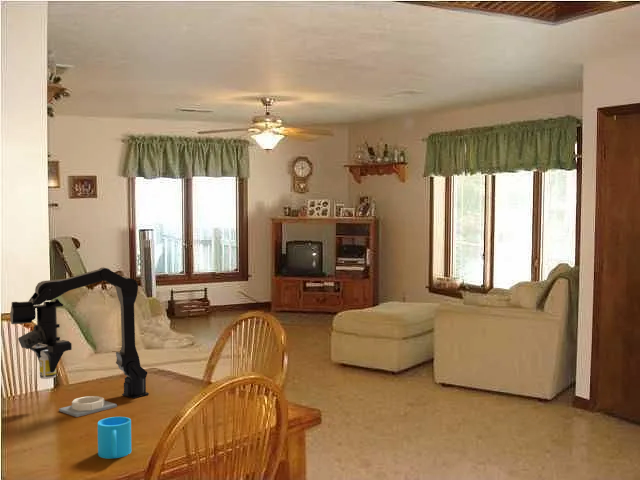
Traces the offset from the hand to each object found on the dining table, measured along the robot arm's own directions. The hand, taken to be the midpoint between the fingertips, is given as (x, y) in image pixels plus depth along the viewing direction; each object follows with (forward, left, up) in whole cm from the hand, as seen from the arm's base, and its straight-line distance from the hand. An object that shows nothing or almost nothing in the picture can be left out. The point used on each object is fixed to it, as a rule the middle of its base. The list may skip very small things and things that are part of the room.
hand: (47, 370), depth 215 cm
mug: (+12, +53, -12) cm, 56 cm away
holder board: (-7, +11, -12) cm, 18 cm away
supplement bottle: (0, 0, -2) cm, 2 cm away
